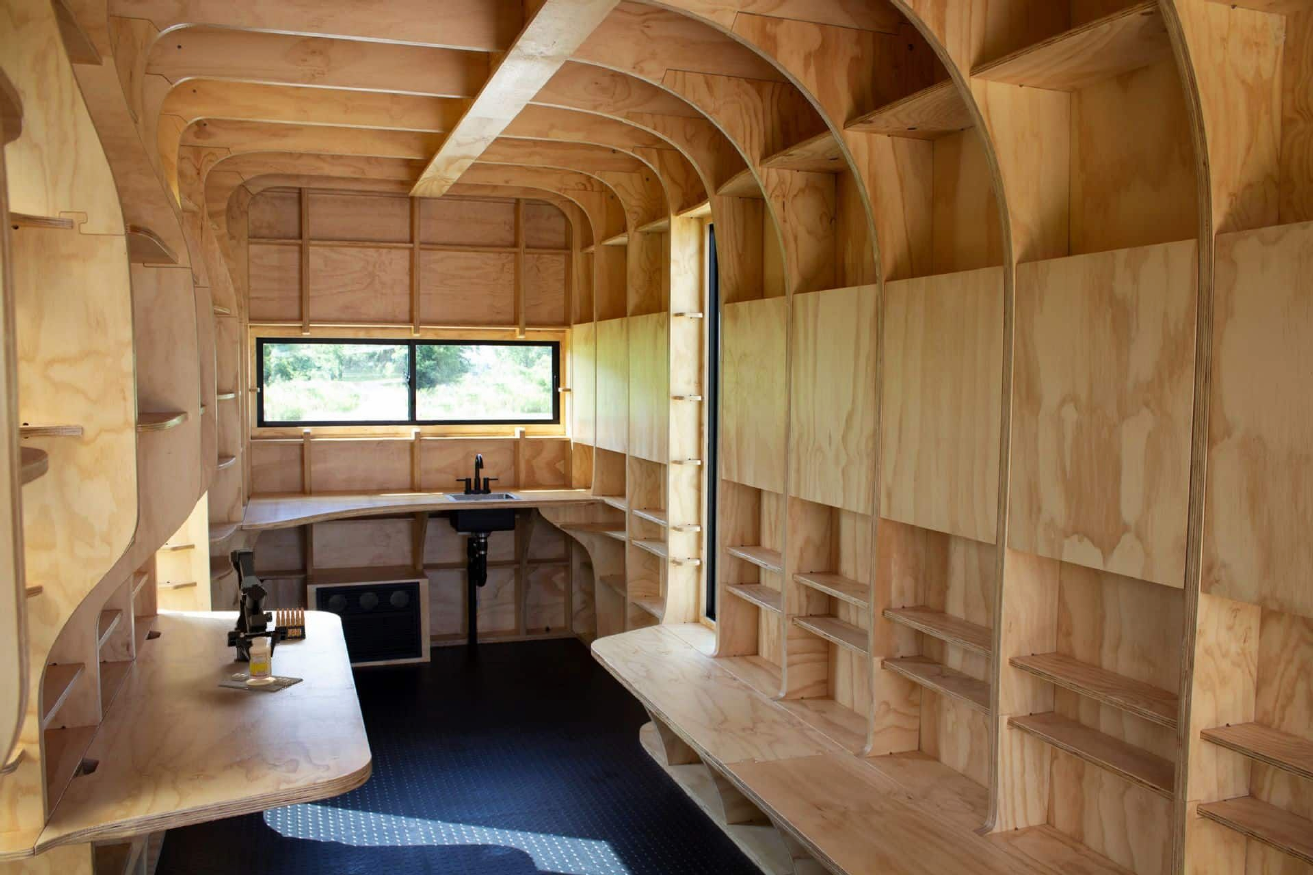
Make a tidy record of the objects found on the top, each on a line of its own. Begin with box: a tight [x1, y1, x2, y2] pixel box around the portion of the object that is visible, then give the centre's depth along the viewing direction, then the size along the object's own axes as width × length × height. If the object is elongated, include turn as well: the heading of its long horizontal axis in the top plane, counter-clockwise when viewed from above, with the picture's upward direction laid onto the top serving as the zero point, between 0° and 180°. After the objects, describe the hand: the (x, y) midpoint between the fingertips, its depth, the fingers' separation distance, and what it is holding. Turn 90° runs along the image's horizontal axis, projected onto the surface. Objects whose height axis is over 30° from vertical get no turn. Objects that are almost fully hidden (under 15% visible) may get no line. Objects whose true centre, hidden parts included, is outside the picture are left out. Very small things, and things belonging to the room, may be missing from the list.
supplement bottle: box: [249, 637, 273, 680], centre depth 360 cm, size 7×7×13 cm
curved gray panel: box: [218, 672, 304, 693], centre depth 361 cm, size 22×14×2 cm, turn 70°
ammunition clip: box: [275, 606, 307, 640], centre depth 420 cm, size 11×2×12 cm, turn 105°
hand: (260, 658), depth 359 cm, fingers closed on supplement bottle, 6 cm apart
